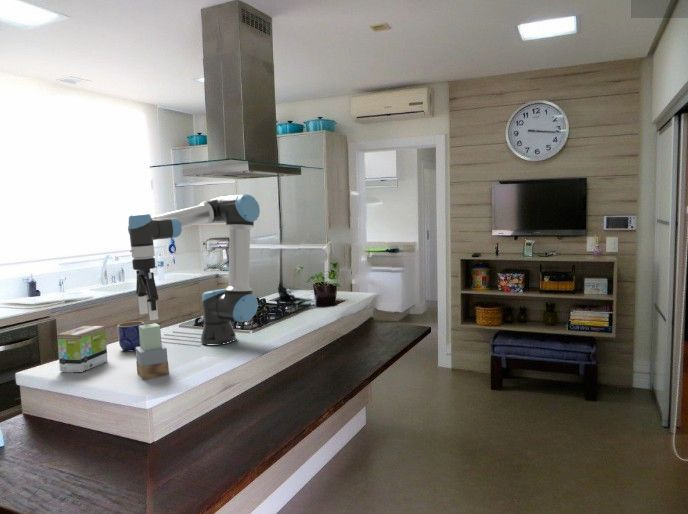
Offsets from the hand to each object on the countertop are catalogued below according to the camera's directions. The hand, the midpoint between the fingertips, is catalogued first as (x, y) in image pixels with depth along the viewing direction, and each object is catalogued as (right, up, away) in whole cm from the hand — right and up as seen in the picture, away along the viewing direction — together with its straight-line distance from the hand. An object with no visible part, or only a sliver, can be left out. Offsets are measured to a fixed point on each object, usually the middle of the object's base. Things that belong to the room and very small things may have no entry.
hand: (148, 316), depth 185 cm
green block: (0, -11, +1) cm, 11 cm away
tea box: (-31, -21, +15) cm, 40 cm away
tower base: (+1, -21, +2) cm, 21 cm away
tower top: (+1, -16, +2) cm, 16 cm away
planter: (-21, -19, +39) cm, 48 cm away
